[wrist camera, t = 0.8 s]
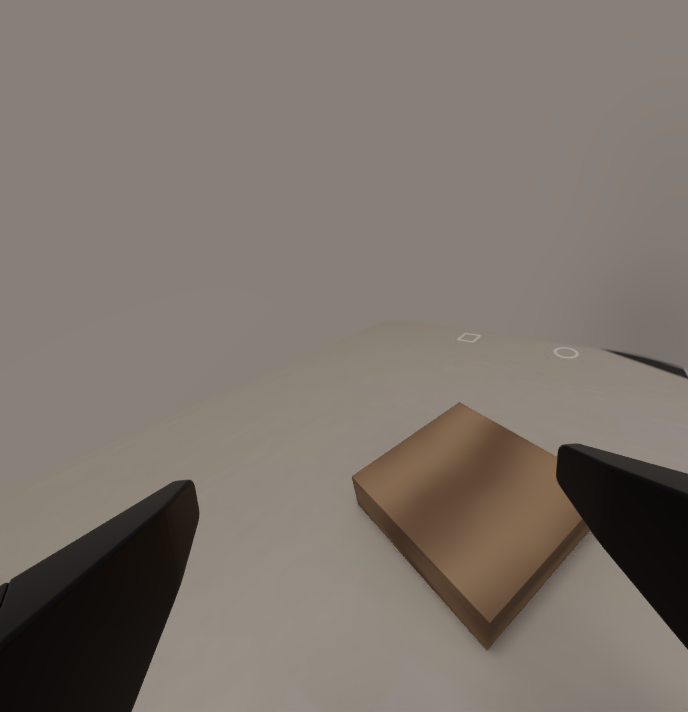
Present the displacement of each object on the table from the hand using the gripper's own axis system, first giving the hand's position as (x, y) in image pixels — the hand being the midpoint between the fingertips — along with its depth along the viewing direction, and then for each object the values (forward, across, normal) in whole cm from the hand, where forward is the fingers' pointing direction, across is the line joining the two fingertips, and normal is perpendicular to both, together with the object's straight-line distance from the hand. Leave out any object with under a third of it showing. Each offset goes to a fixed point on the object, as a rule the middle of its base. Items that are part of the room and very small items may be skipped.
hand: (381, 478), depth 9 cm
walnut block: (+13, -8, +12) cm, 19 cm away
